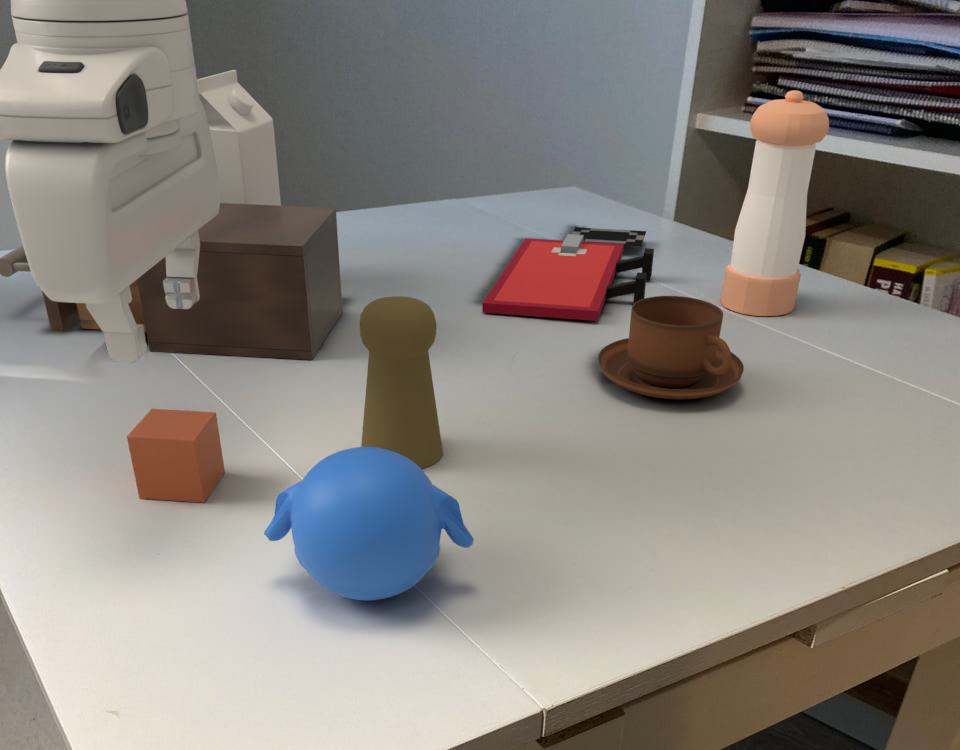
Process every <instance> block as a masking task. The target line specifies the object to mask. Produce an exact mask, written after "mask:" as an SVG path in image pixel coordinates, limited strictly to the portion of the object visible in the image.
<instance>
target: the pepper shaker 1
mask: <svg viewBox="0 0 960 750" xmlns="http://www.w3.org/2000/svg"><path fill="white" fill-rule="evenodd" d="M359 335H360V339H361V342H362V345H364V347H365V348H366V349H367V351H368V360H367V372H366V384H365V396H364V408H363V421H362V431H361V432H362V433H361V445H360V447H376V448H382V449H387V450H390V451H393V452H396V453H398V454H401V455H403V456H405V457H406V458H408V459H410V460H411V461H413V462H414V463H415V464H416V465H418V466H419V467H420V468H421V469H422V470H423V469H425V468H428V467H432V466H433V465H435V464H436V463H438V462H440V461H441V458H442V457H443V455H444V451H443V443H442V438H441V437H442V436H441V430H440V429H441V428H440V423H439V416H438V408H437V402H436V395H435V389H434V381H433V374H432V367H431V360H430V354H429V351H430V349H431V347H432V346H433V344H434V343H435V341H436V337H437V320H436V317H435V313H434V311H433V310H432V308H431V306H430V305H429V304H428V303H426V301H425V302H424V301H423V300H421V299H418V298H414V297H410V296H399V295H398V296H397V295H396V296H385V297H380V298H376V299H374V300H372V301H370V302H369V303H368V304H366V305H365V307H364V308H363V310H362V312H361V313H360V318H359Z"/></svg>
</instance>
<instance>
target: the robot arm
mask: <svg viewBox="0 0 960 750" xmlns="http://www.w3.org/2000/svg"><path fill="white" fill-rule="evenodd" d="M188 12H189V10H188V6H187V2H186V0H10V15H11V20H12V25H13V28H14V34H15V39H16V42H15V43H14V44H12V45H11V47H10V50H9V52H8V54H7V55H8V56H7V57H6V58H5V59H6V60H5V61H4V63H3V65H2V66H1V68H0V140H2V141H11V142H10V144H8V147H7V149H6V152H5V158H4V159H5V160H4V167H5V168H4V169H5V178H6V184H7V189H8V190H7V191H8V193H9V198H10V201H11V205H12V206H11V207H12V211H13V213H14V217H15V221H16V225H17V228H18V233H19V236H20V241H21V245H23V247H24V251H25V254H26V257H27V261H28V264H29V267H30V270H31V272H30V273H31V275H32V277H33V280H34V281H35V283H36V285H37V287H39V289H40V290H41V292H42V291H43V292H44V293H45V295H46V296H47V297H48V298H49V299H51V300H52V301H57V302H69V303H86V308H87V309H88V311H89V312H90V314H91V315H92V317H93V318H94V320H95V321H96V323H97V324H98V326H99V327H100V329H101V330H100V331H101V332H102V333H103V334H104V340H105V341H104V342H105V344H106V348H107V354H108V356H109V358H110V360H112V361H113V362H117V363H130V364H131V363H132V364H134V363H136V362H137V361H138V360H139V359H141V358H142V356H143V355H145V354H146V353H147V350H148V344H147V343H148V342H147V340H146V332H144V327H143V325H142V324H136V322H135V320H134V317H133V315H132V312H131V310H130V308H129V305H128V303H130V302H131V301H132V296H131V291H130V285H131V284H132V283H133V282H134V281H136V280H137V279H138V278H139V277H141V276H142V275H143V274H144V273H146V272H147V271H148V270H149V269H151V268H152V267H153V266H154V265H155V264H157V263H158V262H159V261H160V260H162V259H163V258H164V257H165V256H166V276H167V278H166V279H165V280H164V281H163V286H164V292H165V294H166V303H167V305H168V306H169V307H170V308H173V309H190V308H191V307H192V306H193V305H194V304H195V303H197V302H198V301H199V298H200V295H199V288H198V281H197V272H198V262H199V252H200V239H199V233H198V230H199V229H200V228H202V227H203V226H204V225H205V224H207V223H208V222H209V221H210V220H212V219H213V218H214V217H215V216H216V215H218V213H219V209H220V197H221V193H220V184H219V177H218V172H217V166H216V160H215V155H214V149H213V144H212V139H211V134H210V129H209V124H208V120H207V116H206V113H205V110H204V107H203V104H202V102H201V100H200V98H199V90H198V83H197V79H198V76H197V68H196V62H195V56H194V48H193V41H192V34H191V27H190V18H189V13H188Z"/></svg>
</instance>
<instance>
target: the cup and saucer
mask: <svg viewBox="0 0 960 750" xmlns="http://www.w3.org/2000/svg"><path fill="white" fill-rule="evenodd" d="M723 318H724V312H723V310H722V309H721V308H720V307H719V306H717V305H715V303H712V302H709V301H706V300H702V299H699V298H695V297H689V296H680V295H657V296H655V295H654V296H649V297H644V299H641V300H639V301H637V302H635V303H634V304H633V303H632V306H631V311H630V321H629V333H628V338H623V339H619V340H616V341H613V342H611V343H608V344H607V345H606V346H604V347H603V348H602V349H601V350H600V351H599V352H598V356H597V360H598V366H599V369H600V370H601V372H602V373H603V374H604V375H605V376H606V377H607V378H608V379H609V380H610V381H611V382H612V383H614V384H615V385H617V386H619V387H621V388H622V389H624V390H628V391H630V392H633V393H636V394H639V395H642V396H647V397H651V398H657V399H666V400H693V399H694V400H695V399H702V398H708V397H711V396H715V395H718V394H720V393H723V392H725V391H727V390H729V389H730V388H732V387H733V386H734V385H736V384H737V383H738V382H739V381H740V379H741V378H742V376H743V373H744V369H745V367H744V366H745V365H744V363H743V361H742V360H741V358H739V357H738V356H737V355H736V354H735V353H734V352H732V351H731V349H730V346H729V344H728V343H727V342H726V341H725V340H724V339H723V338H721V337H720V336H721V332H722V331H721V330H722V324H723Z"/></svg>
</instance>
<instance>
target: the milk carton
mask: <svg viewBox="0 0 960 750" xmlns="http://www.w3.org/2000/svg"><path fill="white" fill-rule="evenodd" d="M197 83H198V90H199V98H200V100H201V102H202V104H203V107H204V110H205V113H206V116H207V120H208V124H209V129H210V134H211V139H212V144H213V149H214V155H215V160H216V166H217V172H218V177H219V184H220V193H221V197H220V203H231V204H253V205H276V206H282V202H281V190H280V189H281V188H280V179H279V170H278V169H279V168H278V158H277V148H276V137H275V127H274V119H273V117H272V116H271V114H269V113H268V112H267V111H266V110H265V109H264V108H263V107H262V106H261V104H259V102H257V101H256V99H254V98H253V96H252V95H251V94H250V93H249V92H248V91H247V90H246V89H245V88H244V87H243V86H242V85H241V84H240V83H239V82H238V73H237V69H232V70H228V71H224V72H221V73H216V74H212V75H209V76H205V77H202V78H197Z"/></svg>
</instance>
